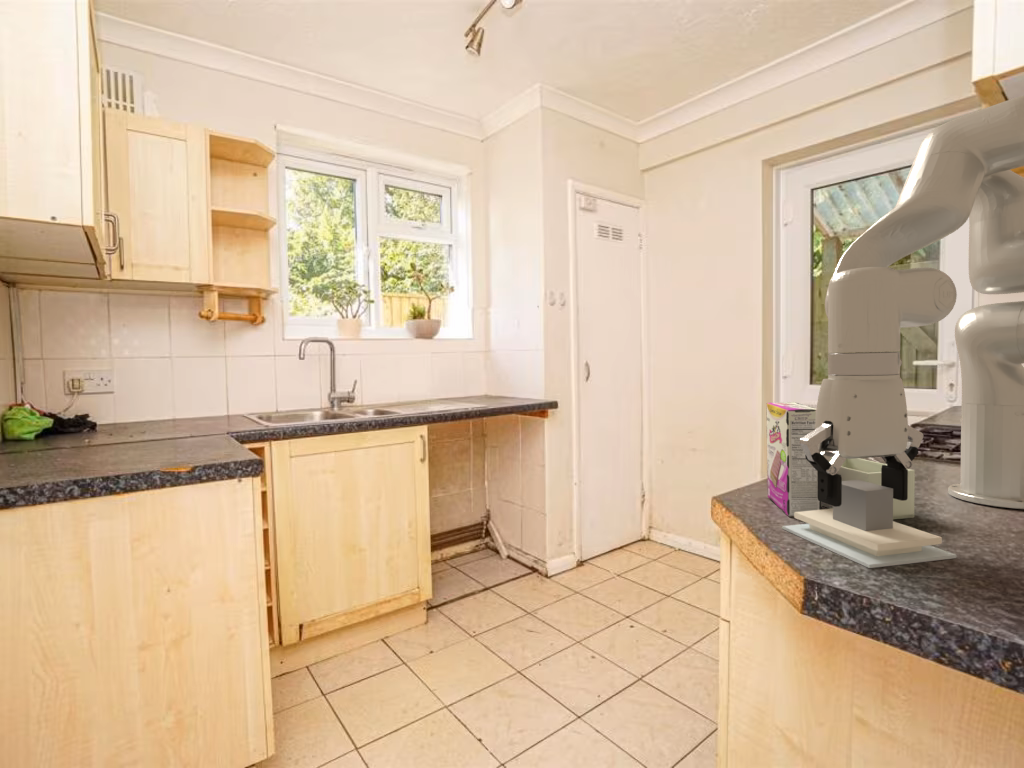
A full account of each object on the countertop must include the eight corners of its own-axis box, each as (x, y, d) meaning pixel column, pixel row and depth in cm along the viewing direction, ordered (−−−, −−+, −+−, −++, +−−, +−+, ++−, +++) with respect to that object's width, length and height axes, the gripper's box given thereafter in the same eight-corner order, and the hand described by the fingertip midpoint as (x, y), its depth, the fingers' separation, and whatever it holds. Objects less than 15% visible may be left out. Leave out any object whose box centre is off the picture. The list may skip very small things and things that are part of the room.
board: (855, 521, 74) (855, 519, 74) (956, 557, 60) (956, 554, 60) (782, 528, 72) (782, 526, 72) (869, 568, 58) (869, 564, 58)
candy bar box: (765, 497, 88) (764, 402, 87) (797, 498, 87) (797, 401, 86) (786, 517, 77) (786, 408, 76) (823, 519, 76) (823, 408, 75)
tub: (846, 496, 87) (846, 455, 87) (914, 517, 75) (914, 470, 75) (805, 500, 86) (805, 458, 85) (867, 521, 74) (868, 473, 73)
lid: (849, 520, 73) (849, 472, 73) (941, 553, 61) (942, 495, 60) (794, 526, 72) (794, 476, 71) (877, 561, 59) (877, 501, 59)
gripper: (893, 365, 70) (892, 489, 71) (781, 369, 67) (781, 498, 68) (949, 365, 63) (947, 503, 64) (826, 369, 60) (826, 514, 61)
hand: (862, 500), depth 66 cm, fingers open, 9 cm apart
